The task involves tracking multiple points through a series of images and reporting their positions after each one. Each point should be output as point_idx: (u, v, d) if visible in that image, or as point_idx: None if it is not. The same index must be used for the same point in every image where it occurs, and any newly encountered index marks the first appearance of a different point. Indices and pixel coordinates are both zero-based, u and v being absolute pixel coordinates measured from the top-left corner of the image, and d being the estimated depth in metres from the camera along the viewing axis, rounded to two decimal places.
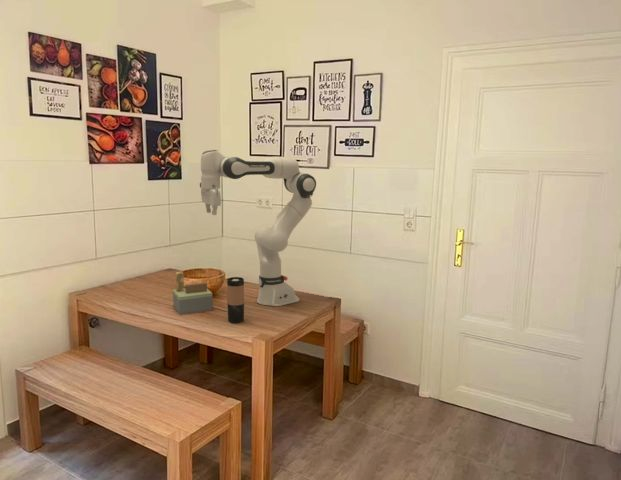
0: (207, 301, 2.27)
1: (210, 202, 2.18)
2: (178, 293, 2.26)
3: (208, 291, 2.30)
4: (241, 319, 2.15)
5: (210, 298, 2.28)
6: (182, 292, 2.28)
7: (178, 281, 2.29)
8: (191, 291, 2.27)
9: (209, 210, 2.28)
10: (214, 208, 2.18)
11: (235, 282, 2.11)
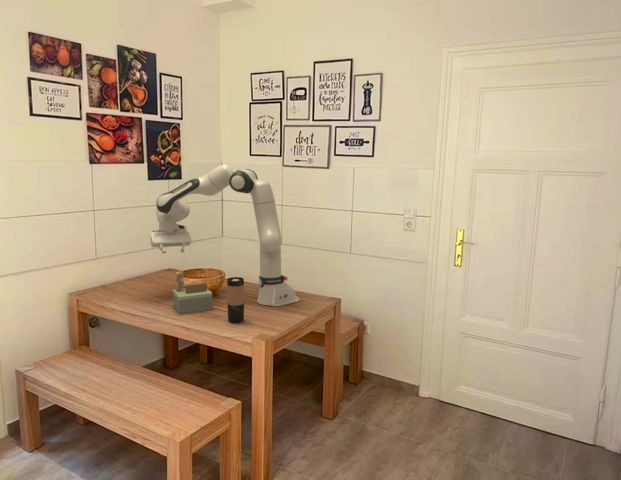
0: (207, 301, 2.27)
1: None
2: (178, 293, 2.26)
3: (208, 291, 2.30)
4: (241, 319, 2.15)
5: (210, 298, 2.28)
6: (182, 292, 2.28)
7: (178, 281, 2.29)
8: (191, 291, 2.27)
9: (181, 249, 2.40)
10: (159, 248, 2.36)
11: (235, 282, 2.11)
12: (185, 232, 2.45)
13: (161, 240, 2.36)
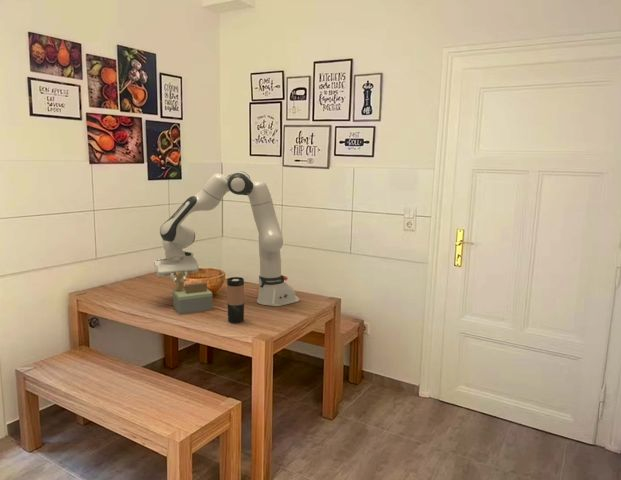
0: (207, 301, 2.27)
1: None
2: (178, 293, 2.26)
3: (208, 291, 2.30)
4: (241, 319, 2.15)
5: (210, 298, 2.28)
6: (182, 292, 2.28)
7: (178, 281, 2.29)
8: (191, 291, 2.27)
9: None
10: (171, 276, 2.30)
11: (235, 282, 2.11)
12: (192, 259, 2.37)
13: (166, 269, 2.29)
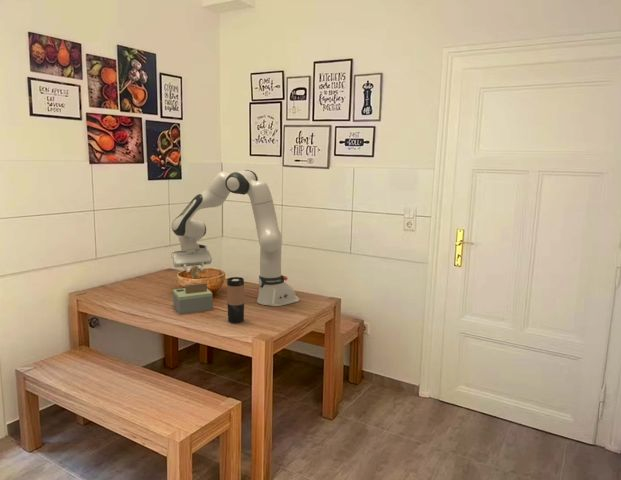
0: (207, 301, 2.27)
1: None
2: (178, 293, 2.26)
3: (208, 291, 2.30)
4: (241, 319, 2.15)
5: (210, 298, 2.28)
6: (182, 292, 2.28)
7: (193, 274, 2.46)
8: (191, 291, 2.27)
9: (200, 269, 2.49)
10: (184, 267, 2.47)
11: (235, 282, 2.11)
12: (206, 251, 2.54)
13: (182, 260, 2.46)
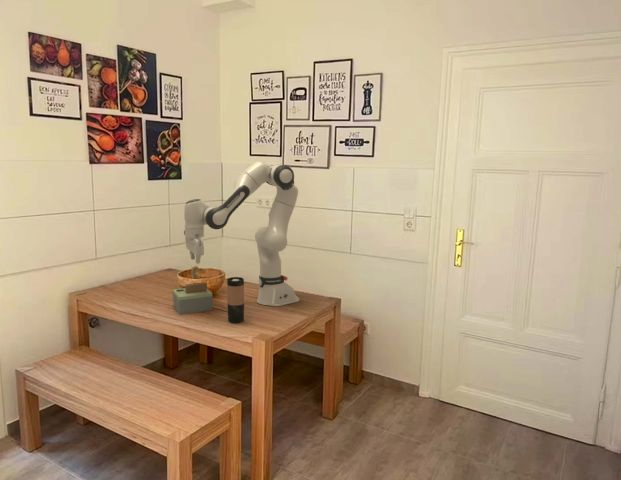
0: (207, 301, 2.27)
1: (193, 251, 2.21)
2: (178, 293, 2.26)
3: (208, 291, 2.30)
4: (241, 319, 2.15)
5: (210, 298, 2.28)
6: (182, 292, 2.28)
7: (193, 274, 2.46)
8: (191, 291, 2.27)
9: (193, 257, 2.30)
10: (197, 257, 2.21)
11: (235, 282, 2.11)
12: None
13: None
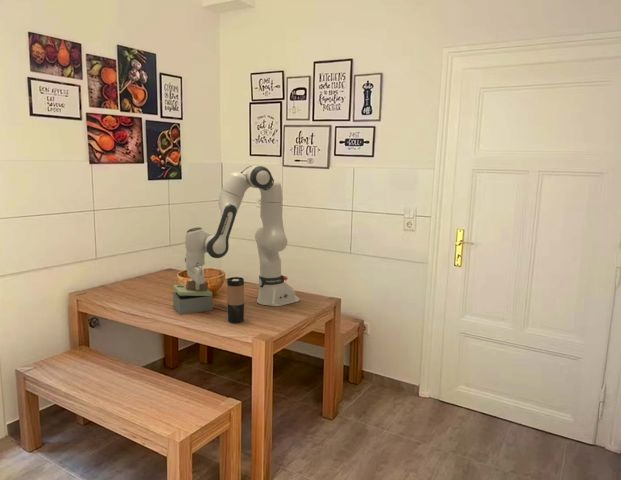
0: (207, 301, 2.27)
1: (194, 279, 2.23)
2: (178, 288, 2.26)
3: (208, 291, 2.31)
4: (241, 319, 2.15)
5: (210, 298, 2.28)
6: (182, 288, 2.28)
7: None
8: (192, 288, 2.27)
9: None
10: (197, 284, 2.26)
11: (235, 282, 2.11)
12: None
13: None
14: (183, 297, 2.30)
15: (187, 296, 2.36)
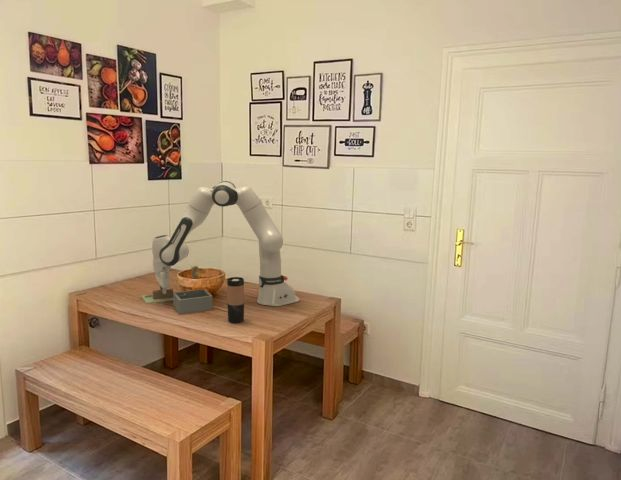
0: (207, 301, 2.27)
1: (160, 283, 2.39)
2: (146, 299, 2.43)
3: None
4: (241, 319, 2.15)
5: (210, 298, 2.28)
6: (150, 298, 2.44)
7: (193, 274, 2.46)
8: (158, 297, 2.44)
9: (162, 288, 2.48)
10: (164, 288, 2.41)
11: (235, 282, 2.11)
12: None
13: None
14: (183, 297, 2.30)
15: (187, 296, 2.36)
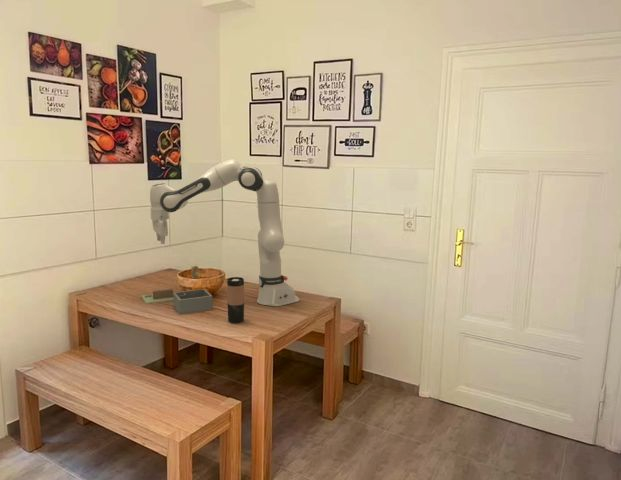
0: (207, 301, 2.27)
1: (158, 232, 2.34)
2: (146, 299, 2.43)
3: None
4: (241, 319, 2.15)
5: (210, 298, 2.28)
6: (150, 298, 2.44)
7: (193, 274, 2.46)
8: (158, 297, 2.44)
9: (159, 238, 2.44)
10: (162, 238, 2.35)
11: (235, 282, 2.11)
12: None
13: None
14: (183, 297, 2.30)
15: (187, 296, 2.36)
